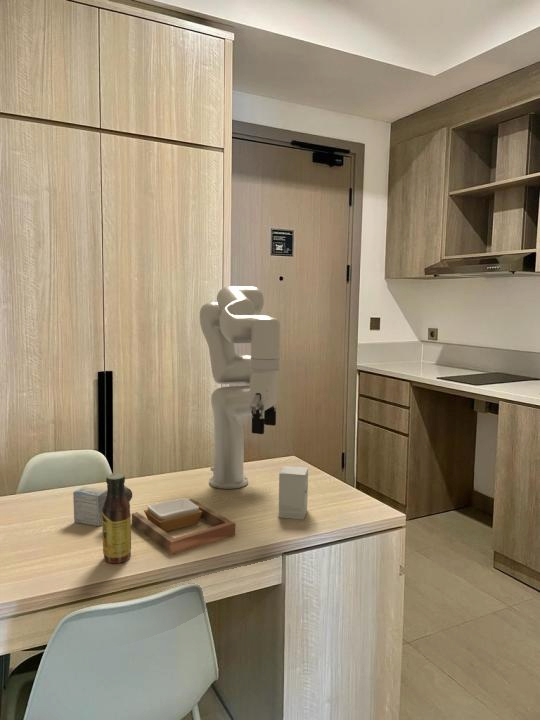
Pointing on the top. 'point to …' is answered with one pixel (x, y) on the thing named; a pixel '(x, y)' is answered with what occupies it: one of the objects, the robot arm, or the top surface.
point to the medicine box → (89, 505)
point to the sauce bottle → (116, 521)
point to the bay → (188, 541)
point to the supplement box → (293, 492)
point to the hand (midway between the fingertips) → (264, 429)
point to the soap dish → (173, 514)
